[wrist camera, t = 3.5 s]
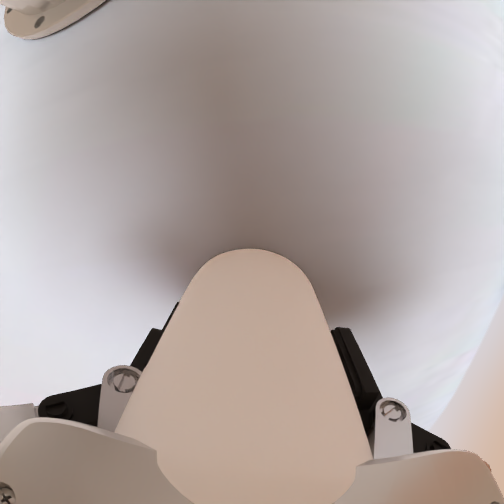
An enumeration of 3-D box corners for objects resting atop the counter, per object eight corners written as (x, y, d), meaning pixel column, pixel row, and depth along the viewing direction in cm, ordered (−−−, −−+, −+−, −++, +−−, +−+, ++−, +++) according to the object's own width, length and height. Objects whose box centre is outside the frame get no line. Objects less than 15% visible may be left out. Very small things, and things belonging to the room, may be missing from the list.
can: (254, 215, 13) (224, 546, 1) (339, 309, 14) (431, 538, 2) (161, 301, 14) (43, 515, 3) (247, 374, 15) (235, 579, 4)
